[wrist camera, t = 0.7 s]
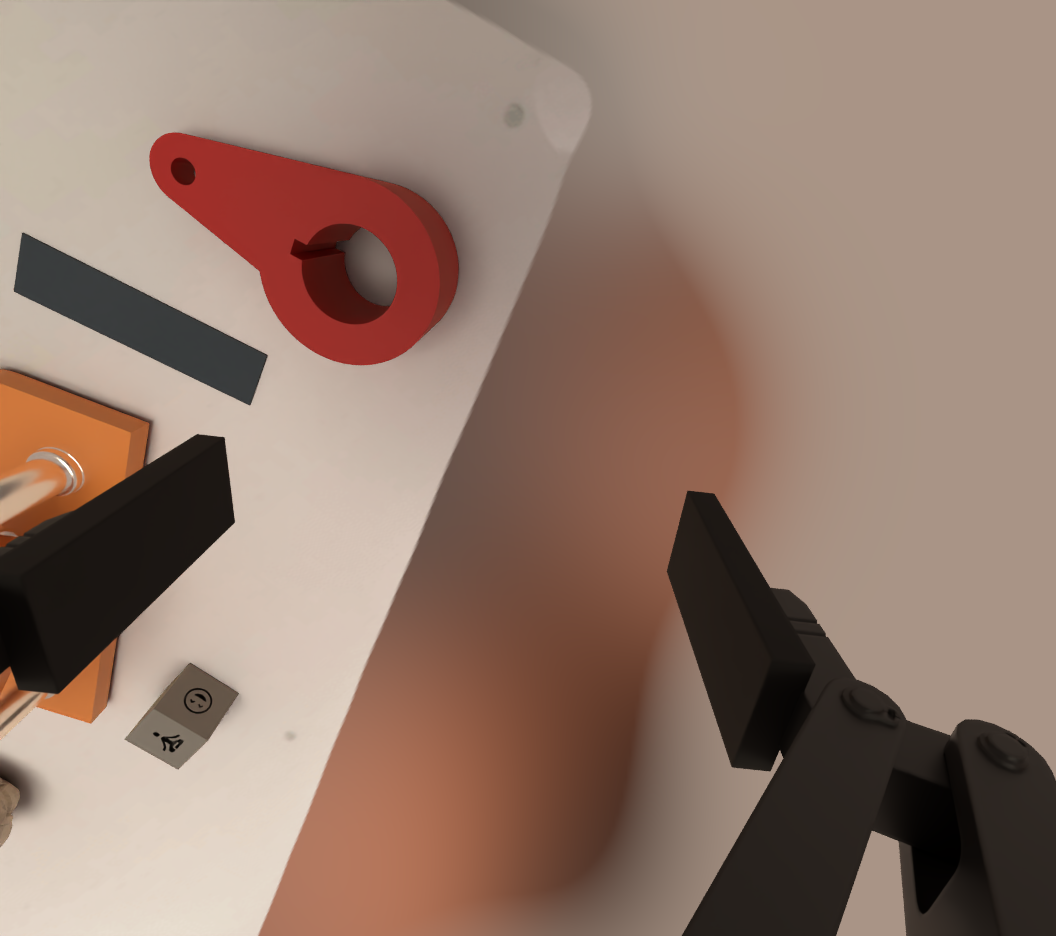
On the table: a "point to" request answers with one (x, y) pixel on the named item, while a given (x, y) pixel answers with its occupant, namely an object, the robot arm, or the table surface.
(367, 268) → the table surface
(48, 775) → the table surface
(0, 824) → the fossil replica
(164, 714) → the dice cube
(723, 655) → the robot arm
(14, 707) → the desk clock
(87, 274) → the strip
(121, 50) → the table surface
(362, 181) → the lever
